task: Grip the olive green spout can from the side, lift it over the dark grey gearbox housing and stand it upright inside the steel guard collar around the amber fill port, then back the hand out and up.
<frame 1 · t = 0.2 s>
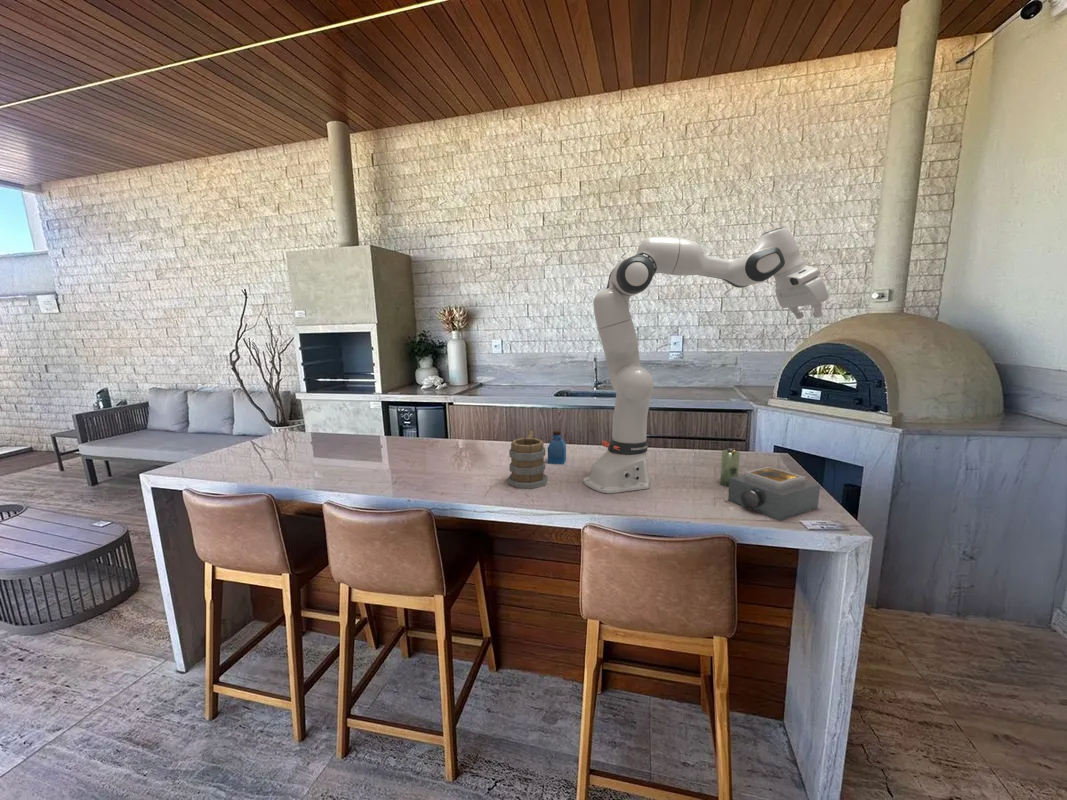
hand: (809, 317, 138), 53 cm above the countertop, tool tilted 25°, fingers open, 8 cm apart
perfume bottle: (556, 462, 169), on the countertop
gearbox housing: (771, 504, 127), on the countertop
tankard: (529, 478, 151), on the countertop
spout can: (728, 484, 143), on the countertop
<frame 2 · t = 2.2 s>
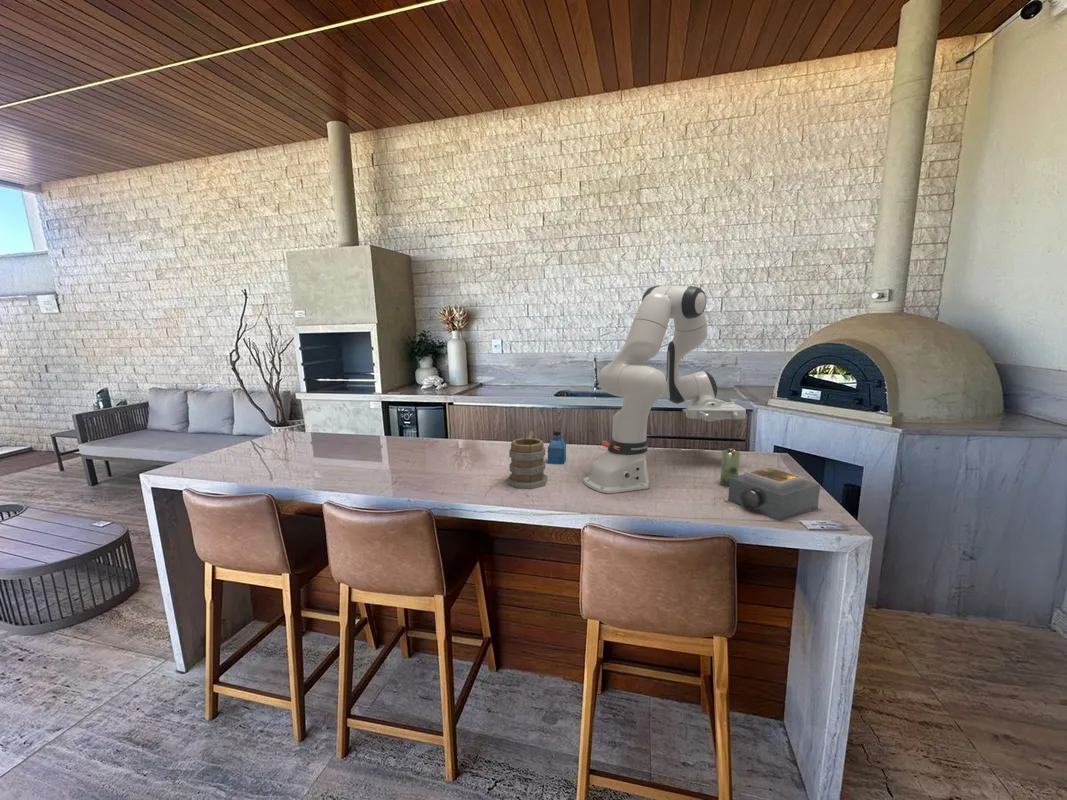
hand: (721, 416, 152), 20 cm above the countertop, tool horizontal, fingers open, 8 cm apart
nothing on the countertop moved.
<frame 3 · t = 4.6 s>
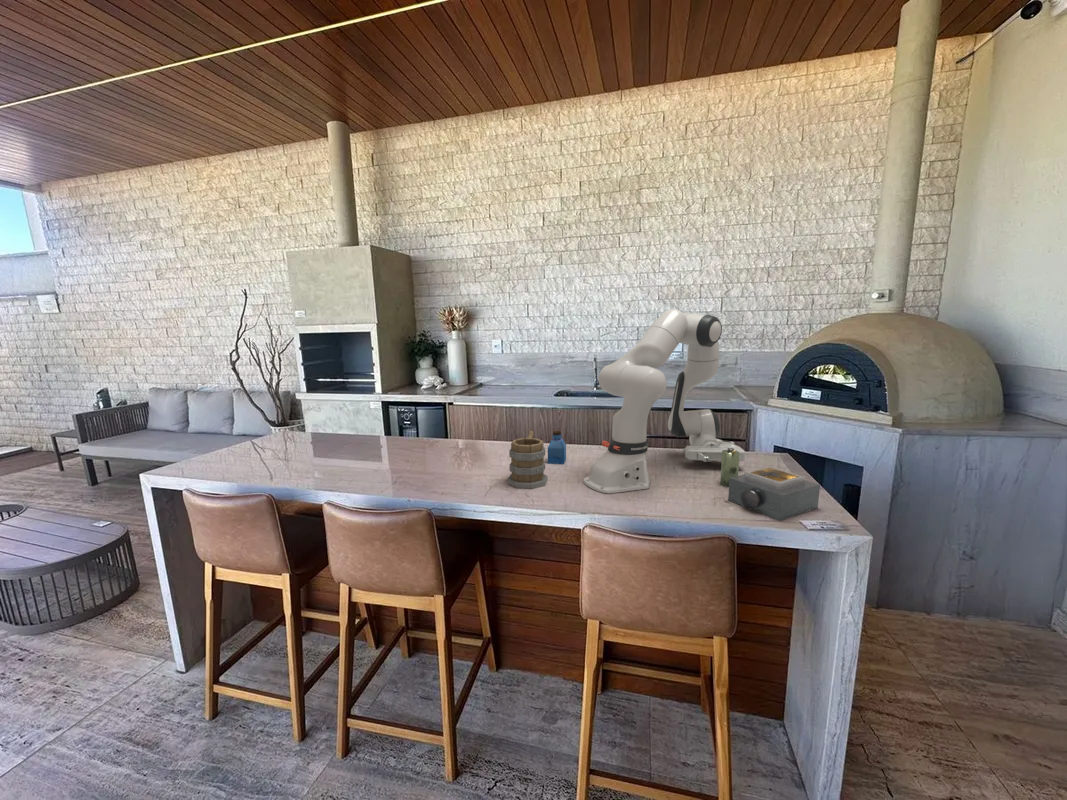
hand: (720, 459, 151), 5 cm above the countertop, tool horizontal, fingers open, 8 cm apart
nothing on the countertop moved.
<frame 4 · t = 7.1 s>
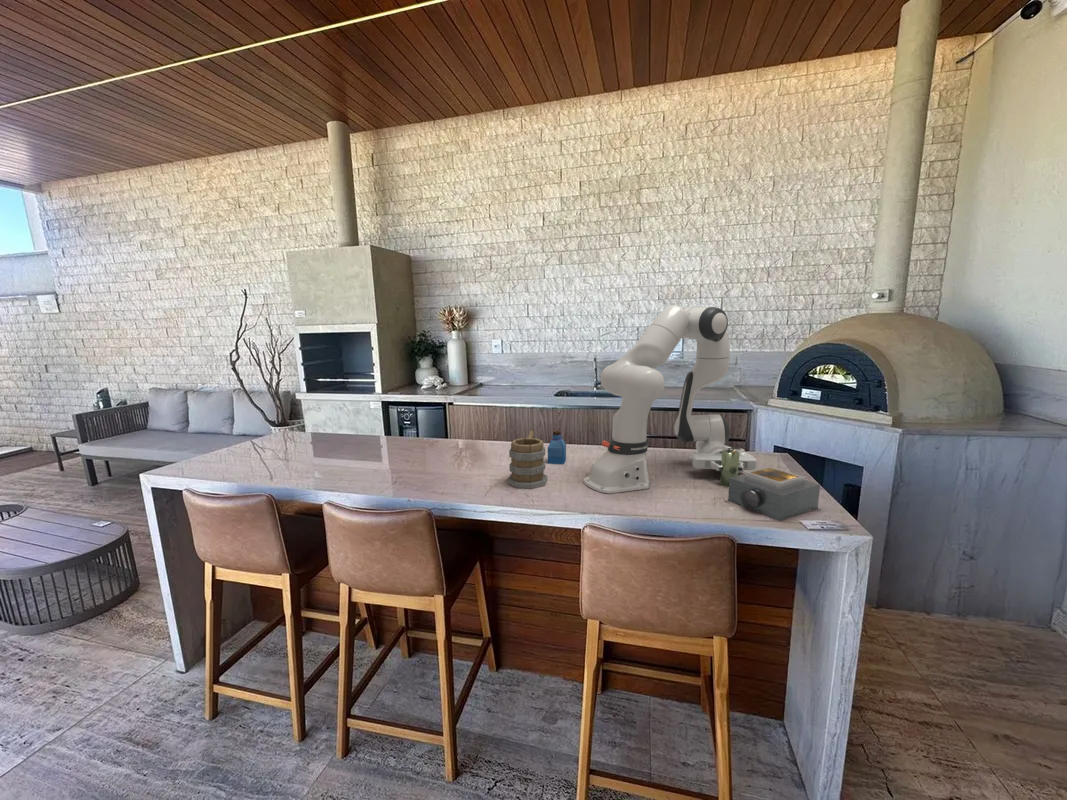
hand: (730, 469, 141), 6 cm above the countertop, tool horizontal, fingers closed on spout can, 5 cm apart
spout can: (728, 484, 143), on the countertop, touching gripper
everything else where it was.
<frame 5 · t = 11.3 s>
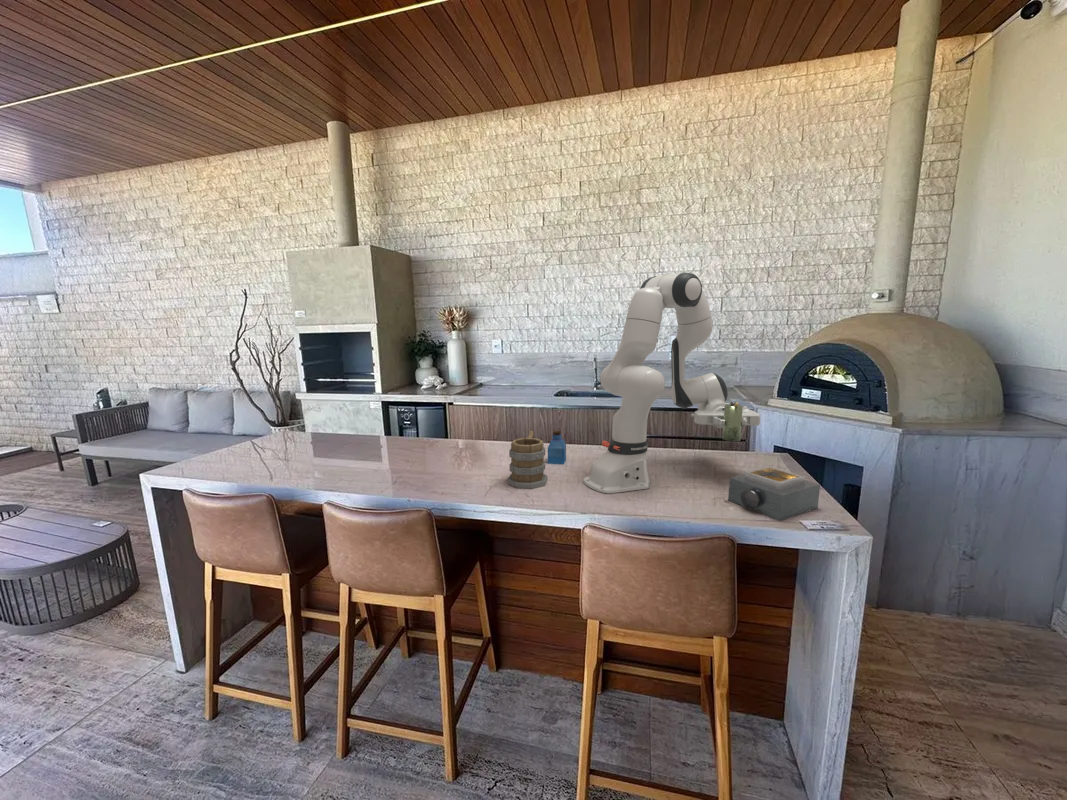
hand: (733, 423, 139), 21 cm above the countertop, tool horizontal, fingers closed on spout can, 5 cm apart
spout can: (731, 439, 141), point 15 cm above the countertop, touching gripper
everything else where it was.
when the fingers open (14 cm above the countertop, at t = 15.2 s): spout can drops 1 cm, resting on gearbox housing.
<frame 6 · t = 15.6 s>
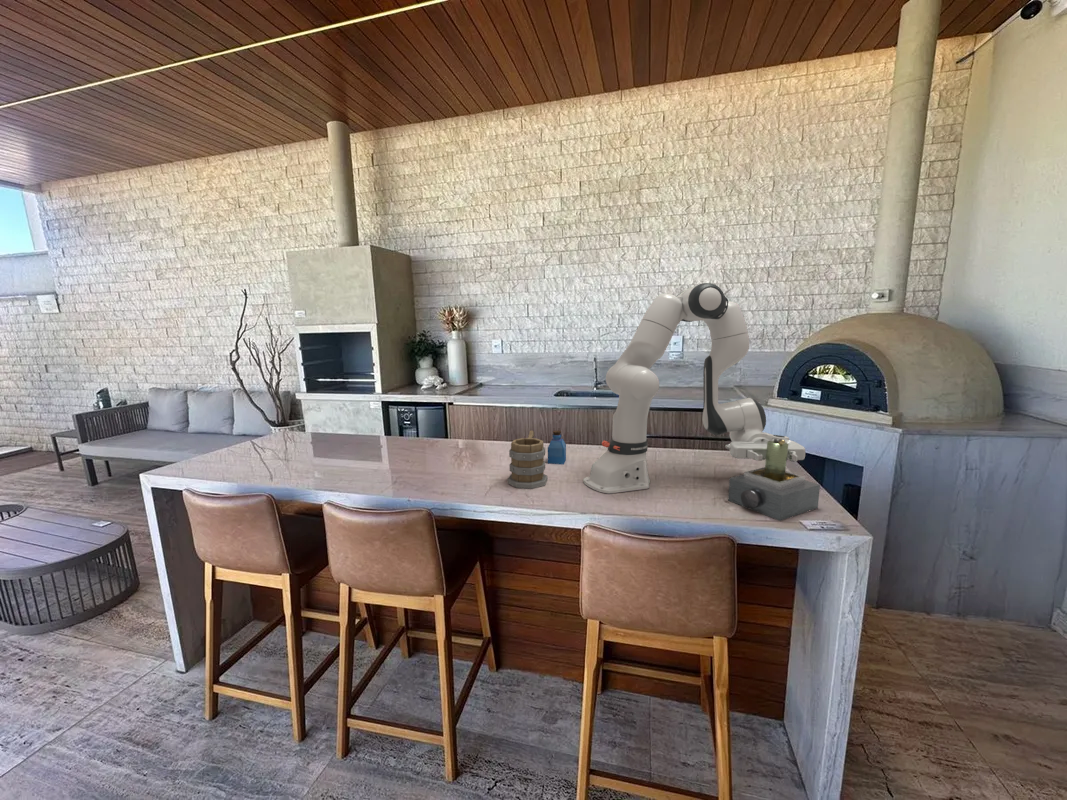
hand: (777, 458, 124), 14 cm above the countertop, tool horizontal, fingers open, 8 cm apart
spout can: (773, 480, 126), point 7 cm above the countertop, touching gearbox housing
everything else where it was.
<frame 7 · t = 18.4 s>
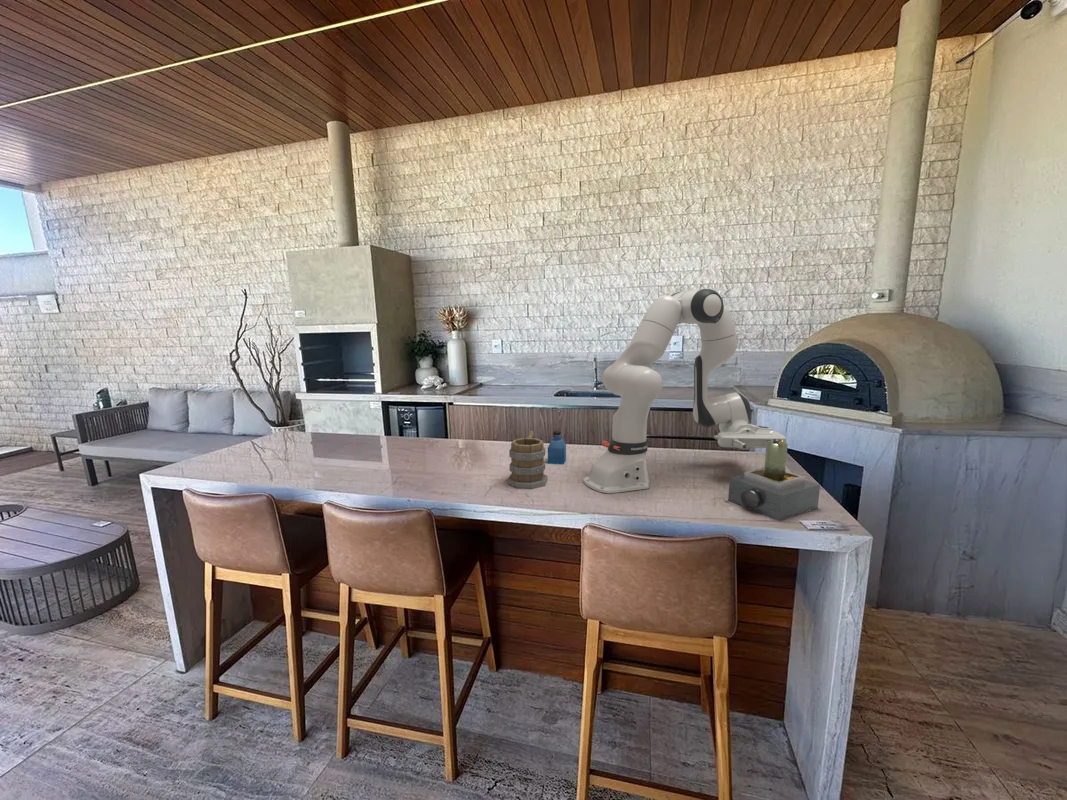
hand: (759, 446, 136), 14 cm above the countertop, tool horizontal, fingers open, 8 cm apart
nothing on the countertop moved.
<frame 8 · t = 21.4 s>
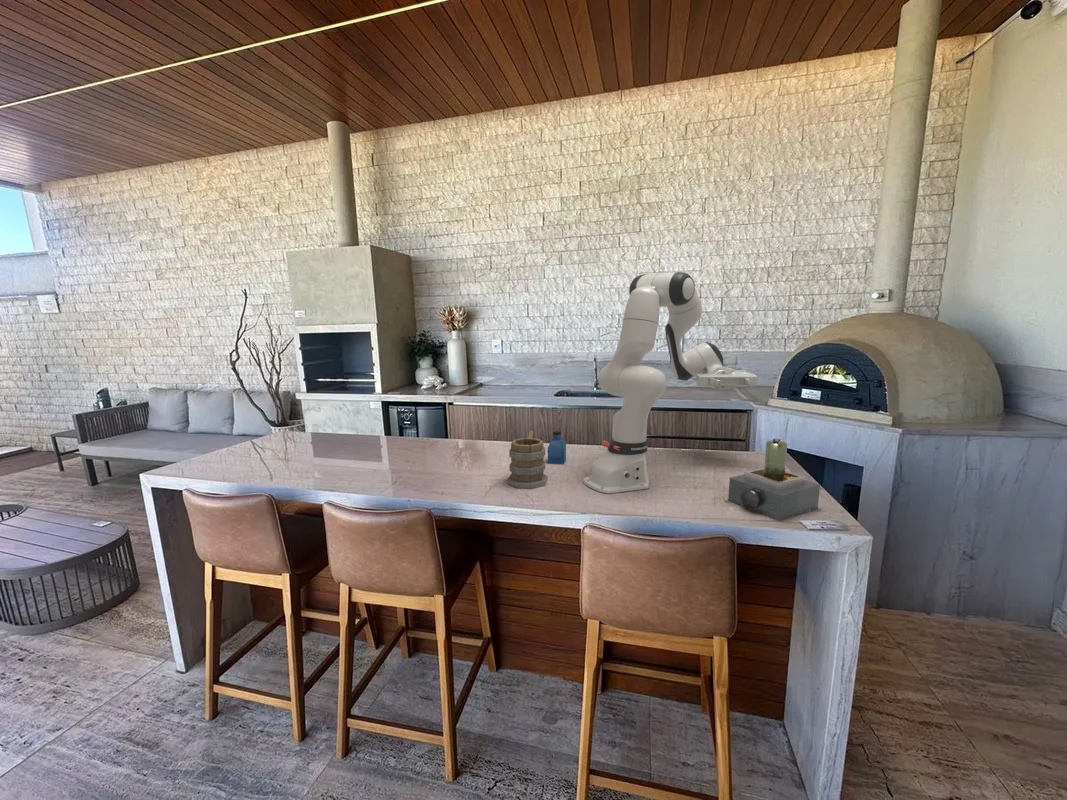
hand: (733, 382, 149), 32 cm above the countertop, tool horizontal, fingers open, 8 cm apart
nothing on the countertop moved.
at the end: spout can 0.0 cm off-centre on the gearbox housing, point 7.2 cm above the gearbox housing's base; spout can tilted 0°; the gripper is holding nothing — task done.
